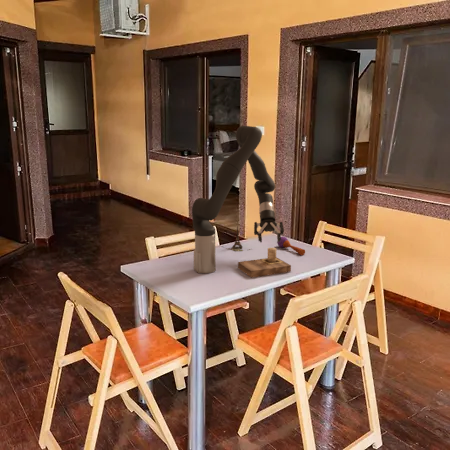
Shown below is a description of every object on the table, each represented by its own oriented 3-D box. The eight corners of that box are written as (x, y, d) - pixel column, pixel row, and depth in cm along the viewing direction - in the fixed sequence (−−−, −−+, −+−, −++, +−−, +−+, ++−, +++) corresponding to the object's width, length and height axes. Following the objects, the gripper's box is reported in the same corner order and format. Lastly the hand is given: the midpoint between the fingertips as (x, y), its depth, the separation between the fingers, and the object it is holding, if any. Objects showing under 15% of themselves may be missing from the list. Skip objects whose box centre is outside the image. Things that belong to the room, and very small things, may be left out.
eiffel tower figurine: (220, 247, 258) (220, 223, 255) (234, 244, 265) (234, 220, 262) (238, 253, 247) (238, 228, 244) (253, 250, 253) (253, 225, 250)
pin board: (251, 277, 210) (251, 270, 209) (237, 268, 222) (238, 261, 221) (290, 271, 217) (291, 265, 216) (275, 263, 230) (276, 256, 229)
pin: (269, 269, 221) (270, 250, 219) (265, 266, 224) (266, 248, 222) (277, 268, 222) (277, 249, 220) (273, 265, 226) (273, 247, 224)
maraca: (297, 248, 240) (274, 237, 256) (298, 259, 242) (275, 247, 259) (306, 245, 242) (283, 233, 259) (307, 255, 245) (284, 243, 261)
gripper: (253, 209, 234) (255, 237, 225) (282, 208, 234) (285, 237, 226) (252, 217, 240) (254, 245, 231) (280, 217, 241) (283, 245, 232)
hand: (269, 241), depth 229 cm, fingers open, 8 cm apart
